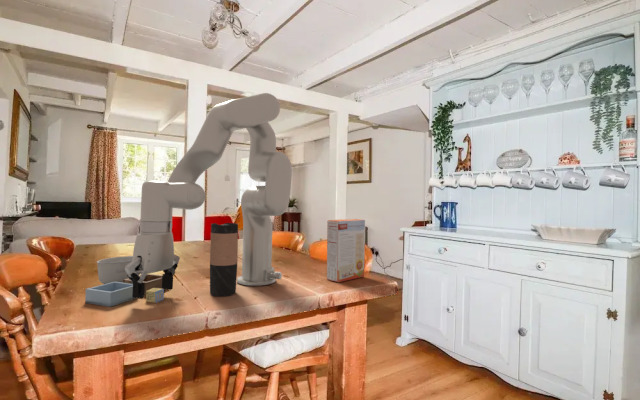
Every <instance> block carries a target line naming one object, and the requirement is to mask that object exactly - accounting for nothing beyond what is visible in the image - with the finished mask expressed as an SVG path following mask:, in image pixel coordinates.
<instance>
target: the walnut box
mask: <svg viewBox="0 0 640 400" xmlns="http://www.w3.org/2000/svg"><path fill="white" fill-rule="evenodd" d="M140 275H141V274H140ZM140 275H139V277H140ZM162 275H163V274H162ZM162 275H161V274H155V273H150V274H147V275H146V277H145V279H144V280H143V282H145V292H144V296H146V291H147V290H150V289H152V288H160V289H163V288H162ZM123 283H129V284H133V282H131V280H130V279H129V278H127V279H123Z"/></svg>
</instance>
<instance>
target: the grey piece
mask: <svg viewBox="0 0 640 400" xmlns="http://www.w3.org/2000/svg"><path fill="white" fill-rule="evenodd" d="M132 259H133V255H129V256H114V257H107V258H103V259H99V260H97V261H96V264H97V276H98V280H99V282H100V283H101V284H102V285H103V284H107V283H111V282H122V283H123V279H127V278H128V276H127V273H126V271H125V266H127V265H128V264H129V263H130V262H132Z"/></svg>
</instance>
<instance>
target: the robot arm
mask: <svg viewBox="0 0 640 400" xmlns="http://www.w3.org/2000/svg"><path fill="white" fill-rule="evenodd" d="M280 105H281V104H280V102H279V100H278V98H277V97H276V96H275V95H274V94H271V93H268V92H263V93H260V94H259V93H258V94H255V95H250V96H246V97H240V98H235V99H230V100H227V101H224V102H222V103H217V104H216V105H214V106H213V107H212V108H211V109H210V111H208V114H207V116H206V118H205V120H204V122H203V124H202V126H201V128H200V130H199V132H198V135H197V136H196V138H195V140H194V142H193V144H192V145H191V147H190V148H189V149H188V150H187V152H186V153H185V154H184V155H183V157H182V158H181V159H180V161H179V162H178V163H177V164H176V166H175V167H174V169H173V171H172V172H171V174H170V176H169V178H168V180H167V181H161V180H147V181H144V182H143V183H142V185H141V196H140V197H141V200H140V201H141V202H140V219H139V220H140V223H139V233H137V235H136V237H135V241H134V246H133V251H132V256H133V259H132V262H130V263H129V264H128V265H127V266H125V271H126V273H127V276H128V278H129V279H130V280H131V282H133V293H132V297H133V298H136V299H139V300H143V299H144V298H145V295H144V292H145V282H143V280H144V279H145V277H146V275H147V274H155V273H158V272H163V273H162V288H163V289H164V290H170V291H171V290H173V288H174V286H173V285H174V275H175V274H176V270H177V268H178V267H179V266H178V264H179V263H180V260H181V258H180V257H181V256H178V255H177V254H175V247H174V246H175V245H174V234H173V231H172V229H173V225H174V224H173V209H177V210H178V209H180V210H196V209H198V208H200V207H201V206H203V204H204V203H205V201H206V192H205V189H204V188H203V187H202V186H201V185H199V184H198V183H196V182H197V180H198V179H199V177H200V176H201V175H202V174H203V173H205V171H208V170H209V169H210V168H212V167H213V166H214V165H215V164H216V163H218V162H219V161H220V160H221V159H222V157H223V155H224V152H225V150H226V148H227V146H228V144H229V141H230V139H231V137H232V135H233V133H234V132H235V131H239V130H243V129H246V130H247V132H248V135H249V137H250V138H249V141H250V142H249V144H250V147H249V155H248V157H249V158H248V167H247V168H248V170H247V171H248V176H249V178H251V180H253V181H255V182H258V183H259V182H260V183H265V185H252V186H250V187H248V188H247V189H246V190H244V191H243V193H242V194H241V199H240V206H241V213H242V214H241V215H242V225H243V226H242V229H243V230H242V231H243V232H242V261H241V262H242V263H241V265H242V266H241V275H240V276H237V279H236V283H238V284H239V285H242V286H253V287H255V286H268V285H271V284H274V283H276V280H281V279H282V276H283V275H282V272H281V271H275V267H273V266H272V259H273V258H272V256H273V224H272V223H273V222H272V220H271V217H272V216H273V217H278V216H281V215H283V214H284V213H286V211H287V210H288V207H289V204H290V199H291V189H292V178H293V177H292V176H293V166H292V162H291V159H290V158H289V157H288V156H287V154H285V153H284V152H282V151H277V139H276V138H277V137H276V133H275V131H274V129H273V127H272V125H271V124H270V123H269V122H273V121H274V120H276V119H277V117H279V114H280V110H281V106H280ZM139 275H140V277H139Z"/></svg>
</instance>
